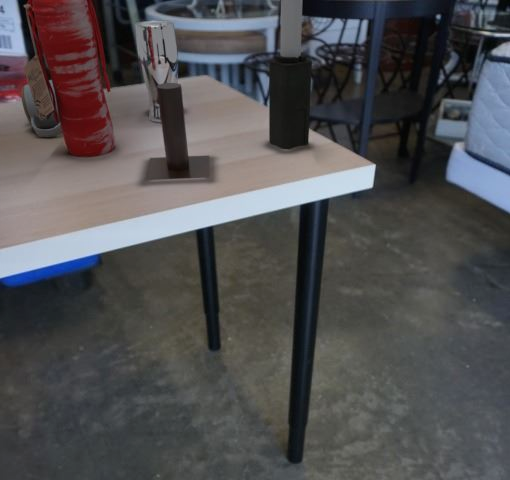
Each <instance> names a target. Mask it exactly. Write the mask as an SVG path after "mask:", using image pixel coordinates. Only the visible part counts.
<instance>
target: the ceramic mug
mask: <svg viewBox="0 0 510 480" xmlns="http://www.w3.org/2000/svg"><path fill="white" fill-rule="evenodd" d="M48 80H49V82H50V84H51V87H52V90H53V92H54V95H55V91H54V87H53V83H52V79H48ZM50 92H51V91H50ZM20 96H21V97H20V98H21V104H22V108H23V111H24V115H25V117H26V119H27V121H28V123H29V124H30V125H31V127H32V128H33V131H34V132H35V134H36V135H38V136H39V137H42V138H54V137H57V136H59V135H61V134H63V133H62V129H61V124H60V119H59V113H58V108H57V102H56V97H55V102H56V111H57V117H58V122H56V121H55V118H54V114H53V113H52V114H51V116H50V118H49V120H47V117H45V118H43V119H42V120H41V121H40V119H39V116H38V113H37V109H36V106H35V103H34V100H33V97H32V94H31V91H30V87H29V84H28V83H27V84H25V85H23V86H22V88H21V93H20ZM51 96H52V94H51ZM52 100H53V97H52Z"/></svg>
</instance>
